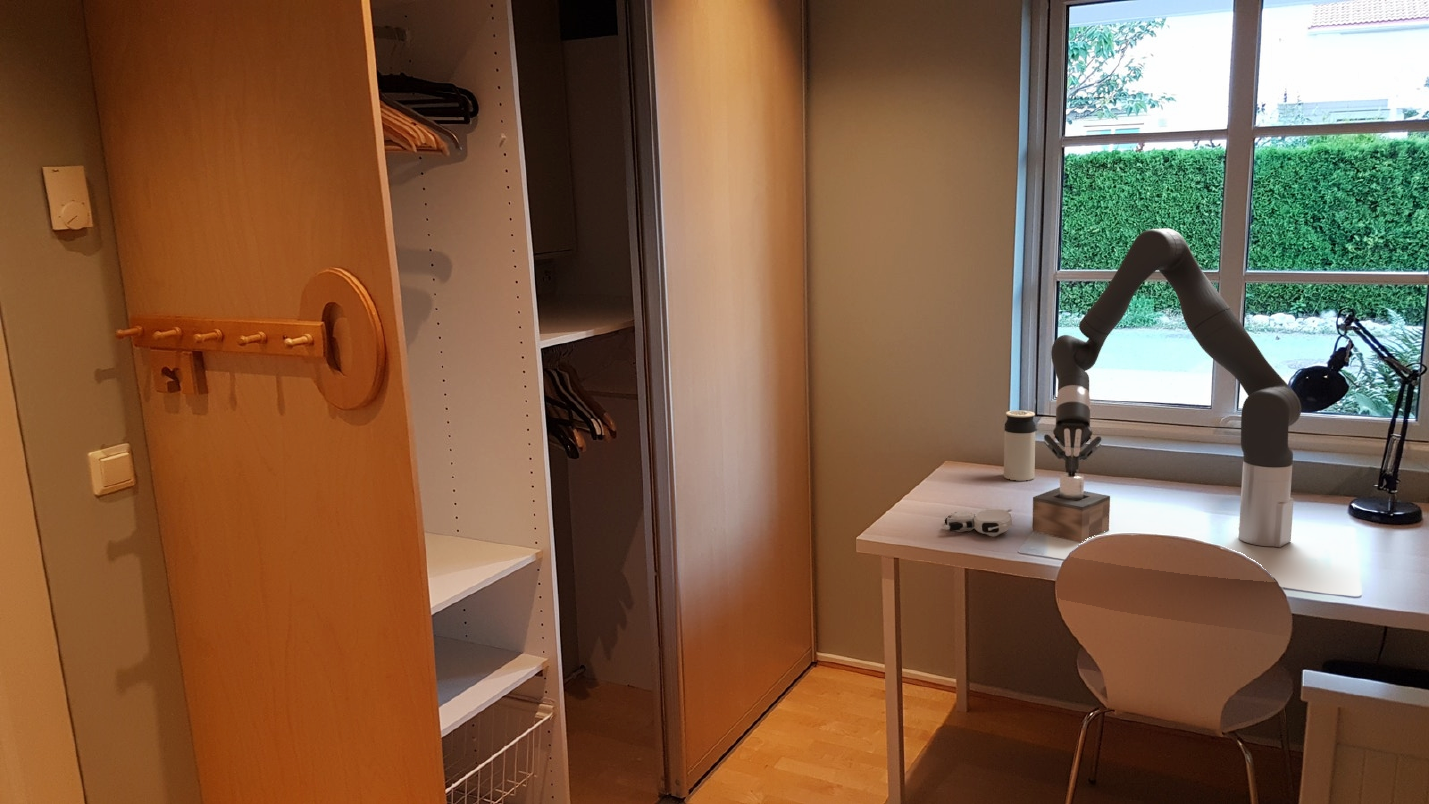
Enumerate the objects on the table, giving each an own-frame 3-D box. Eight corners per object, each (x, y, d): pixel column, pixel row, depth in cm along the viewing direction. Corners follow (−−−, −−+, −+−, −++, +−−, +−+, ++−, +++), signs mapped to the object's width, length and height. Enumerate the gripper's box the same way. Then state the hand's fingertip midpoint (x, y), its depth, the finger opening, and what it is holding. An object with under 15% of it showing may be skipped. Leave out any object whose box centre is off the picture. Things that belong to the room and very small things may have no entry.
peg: (1087, 509, 229) (1088, 475, 227) (1075, 514, 225) (1076, 479, 224) (1066, 505, 232) (1067, 472, 231) (1055, 509, 229) (1055, 476, 228)
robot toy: (941, 540, 229) (1010, 541, 223) (939, 521, 228) (1009, 521, 223) (949, 525, 240) (1015, 525, 235) (948, 506, 240) (1013, 506, 234)
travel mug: (1005, 481, 273) (1006, 415, 270) (1002, 474, 281) (1003, 410, 278) (1036, 481, 272) (1037, 415, 269) (1032, 474, 280) (1033, 410, 276)
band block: (1108, 530, 229) (1110, 495, 228) (1081, 542, 221) (1082, 507, 220) (1060, 519, 238) (1061, 486, 237) (1032, 531, 230) (1033, 497, 229)
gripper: (1043, 399, 236) (1040, 463, 227) (1104, 401, 232) (1104, 466, 222) (1043, 417, 242) (1040, 480, 233) (1102, 419, 237) (1102, 483, 228)
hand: (1071, 473), depth 227 cm, fingers closed
